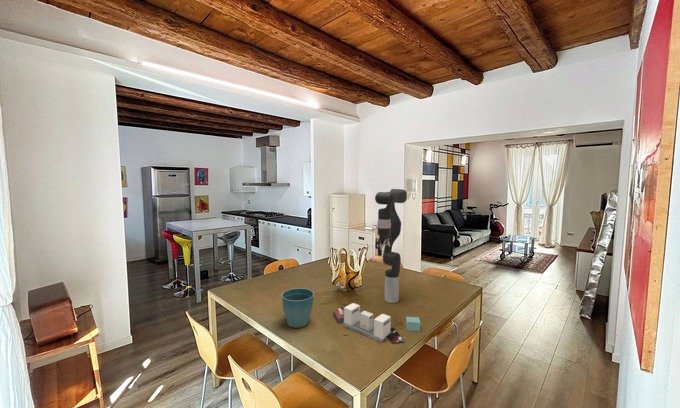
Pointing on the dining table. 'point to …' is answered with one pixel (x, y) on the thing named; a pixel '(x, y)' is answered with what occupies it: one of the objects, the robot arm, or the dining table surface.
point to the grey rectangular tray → (364, 331)
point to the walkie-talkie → (339, 314)
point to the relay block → (413, 323)
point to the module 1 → (351, 314)
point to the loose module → (366, 320)
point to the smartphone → (395, 337)
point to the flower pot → (297, 306)
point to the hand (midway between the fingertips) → (383, 254)
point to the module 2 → (382, 326)
